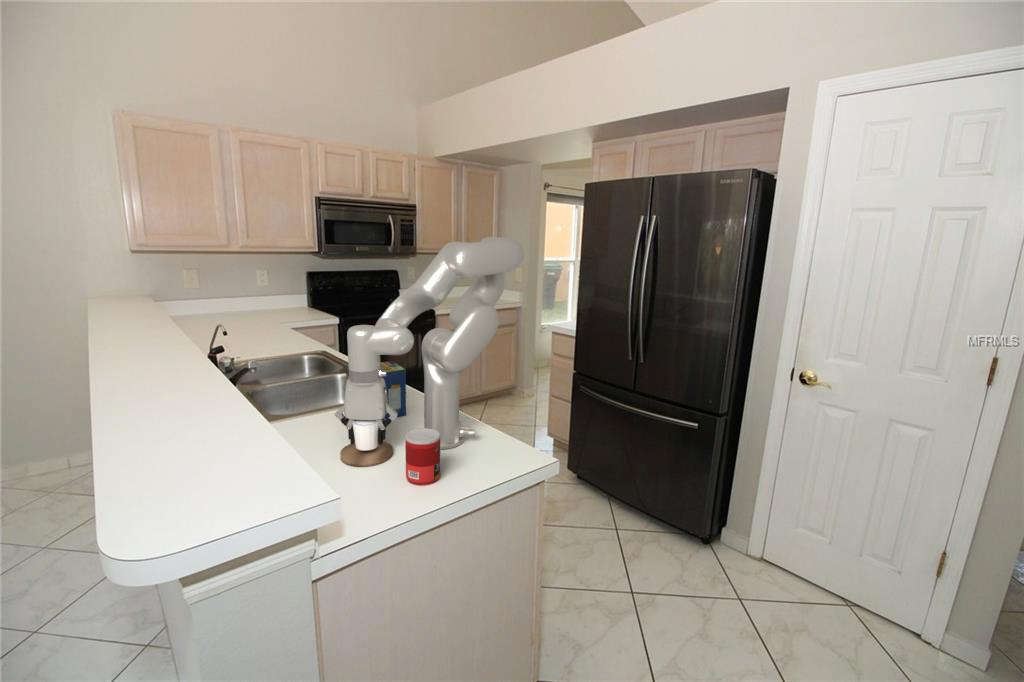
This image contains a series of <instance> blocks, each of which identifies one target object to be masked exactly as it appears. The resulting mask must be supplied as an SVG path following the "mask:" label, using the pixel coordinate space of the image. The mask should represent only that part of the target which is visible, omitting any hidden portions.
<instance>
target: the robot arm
mask: <svg viewBox="0 0 1024 682" xmlns="http://www.w3.org/2000/svg"><path fill="white" fill-rule="evenodd" d="M524 251H525V250H524V248H523V246H522V244H521V243H520V242H519V241H518V240H516V239H514V238H511V237H500V236H499V237H498V236H487V237H485V238H483V239H481V240H480V241H478V242H477V241H475V242H467V241H466V242H465V241H450V242H448V243H446V244H445V245H444V246H443V247H441V249H440V250H439V251H438V253H437V254H436V256H434V258H433V259H432V261H431V262H430V263H429V265H427V267H426V268H425V270H424V271H423V272H422V273H421V275H420V276H419V277H418V279H416V281H415V282H414V283H413V284H412V285H411V286H409V288H406V290H405V291H404V292H402V293H401V294H400V295H399V296H398V297H396V299H394V300H393V301H392V302H391V303H390V305H388V307H387V308H386V309H385V311H384V312H382V315H381V316H380V317H379V318H378V320H377V321H376V323H375V325H371V324H370V325H369V324H360V325H359V324H358V325H353V326H351V327H349V328H348V330H347V332H346V334H347V335H346V339H347V360H348V364H347V365H348V367H349V379H348V380H347V382H346V384H345V389H344V390H345V391H344V400H343V401H344V402H343V405H342V406H341V407H340V408H338V410H337V411H336V412H334V417H336V418H337V419H338V420H339V421H340V423H342V425H343V426H345V428H346V429H347V433H348V440H349V442H350V444H354V443H355V437H354V430H353V423H352V422H354V420H376V421H377V423H378V425H379V430H378V444H379V445H381V444H382V442H383V441H385V440H386V438H387V437H386V436H387V431H386V428H387V427H388V426H389V425H390V424H391V423H392V422H394V420H395V419H397V418H398V417H397V416H398V413H397V412H396V411H395V410H394V409H393V408H392V407H390V406H389V405H388V398H387V390H386V385H385V381H384V379H383V378H381V377H383V376H386V374H387V372H386V371H382V369H381V367H380V362H381V356H382V355H383V356H403V355H405V354H407V353H409V352H410V351H411V349H413V346H414V345H415V344H414V343H415V338H414V335H413V333H412V331H411V330H410V329H408V327H409V325H410V324H411V323H412V321H414V319H415V318H417V317H418V316H420V315H421V314H423V313H424V312H426V311H429V310H431V309H435V308H436V307H438V306H440V305H442V304H443V303H444V302H445V300H446V299H447V297H448V296H449V295H450V293H452V290H453V289H454V288H455V287H456V286H457V284H458V283H459V282H460V281H461V279H462V278H463V277H464V278H475V279H474V280H473V282H472V283H471V284H470V285H469V287H468V288H467V289H466V291H465V292H464V293H463V294H462V296H461V297H460V298H459V299H458V301H457V302H456V303H455V304H454V305H453V307H452V309H451V310H450V313H449V321H450V323H451V325H452V326H453V327H454V328H455V330H454V331H452V330H449V329H448V328H443V327H436V328H435V327H434V328H433V329H430V330H429V331H428V332H427V333H426V334H425V335H424V337H423V339H422V341H421V357H422V359H421V360H422V364H423V375H424V377H423V378H424V379H423V380H424V381H423V382H424V385H423V387H424V388H423V393H424V394H423V395H424V396H423V397H424V398H423V399H424V400H423V401H424V402H423V408H424V410H423V412H424V414H423V415H424V416H423V417H424V421H423V422H424V424H423V425H424V427H423V429H424V428H426V429H433V430H436V431H438V432H439V433H440V450H445V449H446V450H447V449H451V448H455V447H458V446H460V445H462V444H463V443H464V441H465V437H475V436H476V435H475V434H476V430H475V429H473V428H472V427H471V426H463V425H461V423H462V422H461V420H460V386H461V385H460V384H461V383H460V382H461V379H460V373H462V372H464V371H466V370H467V369H469V367H470V366H471V365H472V364H473V363H474V362H475V361H476V359H477V358H478V357H479V356H480V355H481V353H482V352H483V351H484V350H485V348H486V347H487V345H488V344H489V343H490V341H492V339H493V337H494V336H495V335H496V332H497V330H498V327H499V323H500V316H499V313H498V311H497V309H496V308H495V306H496V304H497V303H498V302H499V300H500V299H501V297H502V295H503V293H504V290H505V288H506V273H509V272H512V271H515V270H516V269H518V268H519V267H520V266H521V265H522V263H523V261H524V257H525V252H524ZM386 413H389V414H390V417H388V418H387V419H386V420H385V418H384V417H385V414H386ZM396 417H397V418H396Z"/></svg>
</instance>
